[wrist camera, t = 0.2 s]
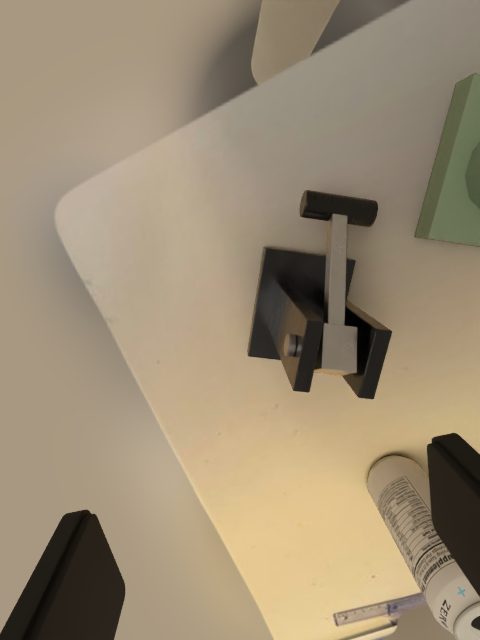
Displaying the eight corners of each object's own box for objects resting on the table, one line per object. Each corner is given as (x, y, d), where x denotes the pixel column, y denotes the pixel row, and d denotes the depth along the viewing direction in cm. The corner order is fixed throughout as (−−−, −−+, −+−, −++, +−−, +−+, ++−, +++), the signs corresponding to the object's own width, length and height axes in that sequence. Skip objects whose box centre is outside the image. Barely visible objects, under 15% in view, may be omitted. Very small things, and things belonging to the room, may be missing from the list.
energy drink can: (394, 504, 40) (490, 667, 26) (352, 482, 39) (428, 640, 24) (428, 465, 39) (551, 614, 24) (386, 442, 37) (488, 583, 23)
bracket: (263, 246, 31) (290, 266, 19) (351, 258, 32) (432, 286, 19) (247, 351, 34) (260, 429, 22) (328, 361, 34) (385, 441, 22)
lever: (299, 201, 26) (308, 181, 23) (364, 211, 26) (380, 192, 24) (287, 369, 23) (297, 366, 20) (362, 378, 23) (379, 375, 21)
